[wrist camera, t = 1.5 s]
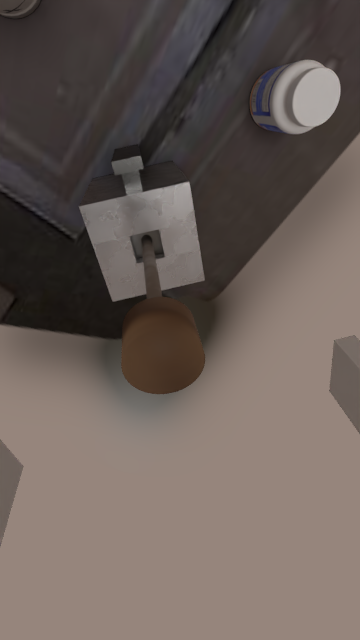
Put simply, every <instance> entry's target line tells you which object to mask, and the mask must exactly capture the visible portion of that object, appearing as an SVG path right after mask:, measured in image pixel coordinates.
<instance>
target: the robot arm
mask: <svg viewBox="0 0 360 640" xmlns="http://www.w3.org/2000/svg"><path fill="white" fill-rule="evenodd" d="M329 391H330V392H331V394H332V395H333V396H334V398H335V399H336V400H337V402H338V404H339V405H340V407H341V408H342V409H343V411H344V412H345V414H346V415H347V416H348V418H349V419H350V421H351V422H352V423H353V425H354V426H355V428H356V429H357V431H358V432H359V433H360V340H359V339H358V338H357V337H356V336H355V335H353V336H349V337H345V338H341V339H337V340H334V348H333V358H332V369H331V380H330V390H329ZM22 469H23V465H22V464H21V463H20V462H19V461H18V460H17V458H16V457H15V456H14V455H13V454H12V453H11V452H10V450H9V449H8V448H7V447H6V445H5V444H4V443H3V442H2V441H1V440H0V546H1V542H2V539H3V535H4V532H5V528H6V525H7V521H8V518H9V514H10V511H11V508H12V504H13V501H14V497H15V494H16V490H17V487H18V483H19V480H20V476H21V473H22Z"/></svg>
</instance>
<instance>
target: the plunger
mask: <svg viewBox="0 0 360 640" xmlns="http://www.w3.org/2000/svg"><path fill="white" fill-rule="evenodd" d="M130 237H131V241H132V245H133V248H134V252H135V255H136V259H140V258H143V264H144V274H145V284H146V294H147V299H145V300H143V301H141V302H139V303H137V304H136V305H135V306H133V307H132V308H131V309H130V310H129V311H128V313H127V314H126V316H125V318H124V321H123V326H122V363H121V366H122V372H123V374H124V376H125V378H126V379H127V381H128V382H129V383H130V384H131V385H132V386H134V387H135V388H137V389H139V390H141V391H144V392H147V393H152V394H167V393H172V392H176V391H179V390H182V389H184V388H186V387H187V386H189V385H190V384H192V383H193V382H194V381H195V380H196V379H197V378H198V377H199V375H200V374H201V372H202V370H203V368H204V364H205V354H204V351H203V347H202V344H201V341H200V337H199V334H198V331H197V328H196V324H195V321H194V318H193V315H192V313H191V312H190V310H189V309H188V308H187V307H186V306H185V305H184V304H183V303H181V302H179V301H177V300H175V299H172V298H168V297H162V292H161V286H160V281H159V275H158V270H157V264H156V258H155V255H158V254H162V253H164V250H163V246H162V241H161V237H160V232H159V229H158V230H154V231H149V232H145V233H140V234H136V235H132V236H130Z"/></svg>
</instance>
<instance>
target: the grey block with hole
mask: <svg viewBox="0 0 360 640" xmlns="http://www.w3.org/2000/svg"><path fill="white" fill-rule="evenodd" d="M111 163H112V167H113V170H114V174H110V175H106V176H101V177H97V178H93V179H92V181H91V183H90V185H89V187H88V189H87V191H86V193H85V195H84V197H83V199H82V201H81V203H80V205H79V208H80V211H81V214H82V217H83V220H84V222H85V225H86V228H87V231H88V234H89V236H90V239H91V242H92V245H93V248H94V251H95V253H96V256H97V259H98V262H99V265H100V267H101V270H102V273H103V276H104V279H105V281H106V284H107V287H108V290H109V293H110V296H111V298H112V301H118V300H122V299H126V298H131V297H135V296H139V295H144V294H146V284H145V274H144V264H143V258H140V259H136V255H135V252H134V248H133V245H132V241H131V237H130V236H132V235H136V234H140V233H145V232H149V231H154V230H158V229H159V232H160V237H161V241H162V246H163V250H164V253H162V254H158V255H155V258H156V264H157V270H158V275H159V281H160V286H161V290H166V289H170V288H174V287H179V286H183V285H187V284H192V283H196V282H200V281H205V278H204V272H203V266H202V259H201V253H200V247H199V240H198V234H197V227H196V221H195V215H194V208H193V202H192V196H191V189H190V183H189V181H188V179H187V178H186V177H185V176H184V174H183V173H182V172H181V171H180V169H179V168H178V167H177V166H176V165H175V163H174V162H173V161H168V162H163V163H159V164H155V165H150V166H146V167H143V163H142V159H141V154H140V150H139V147H138V144H137V145H132V146H128V147H123V148H119V149H115V151H114V154H113V158H112V161H111Z"/></svg>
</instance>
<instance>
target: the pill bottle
mask: <svg viewBox="0 0 360 640" xmlns="http://www.w3.org/2000/svg"><path fill="white" fill-rule="evenodd" d="M339 98H340V82H339V79H338V77H337V75H336V74H335V73H334V72H333V71H332V70H330V69H328V68H325V67H324V66H323V65H322V64H321V63H319V62H317V61H314V60H302V61H297V62H294V63H290V64H287V65H283V66H279V67H275V68H272V69H270V70H268V71H266V72H265V73H263V74H262V75H261V76H260V77H259V78H258V80H257V81H256V83H255V84H254V86H253V88H252V91H251V95H250V112H251V115H252V117H253V119H254V121H255V122H256V124H257V125H259V126H260V127H261V128H263V129H266V130H270V131H276V132H282V133H287V134H301V133H304V132H307V131H309V130H311V129H312V128H314V127H315V126H318V125H320V124H322V123H324V122H325V121H326V120H327V119H328V118H330V116H331V115H332V114H333V112H334V111H335V109H336V107H337V105H338V102H339Z"/></svg>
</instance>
